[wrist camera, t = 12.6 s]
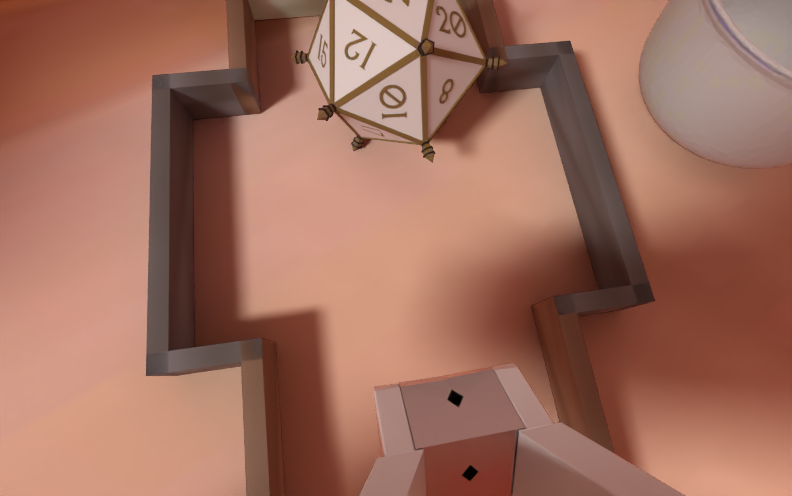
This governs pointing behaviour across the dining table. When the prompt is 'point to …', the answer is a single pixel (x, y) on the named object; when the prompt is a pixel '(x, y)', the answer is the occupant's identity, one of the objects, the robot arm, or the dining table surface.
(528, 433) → the robot arm
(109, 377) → the dining table surface
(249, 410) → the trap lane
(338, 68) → the game die
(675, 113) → the teacup
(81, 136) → the dining table surface
